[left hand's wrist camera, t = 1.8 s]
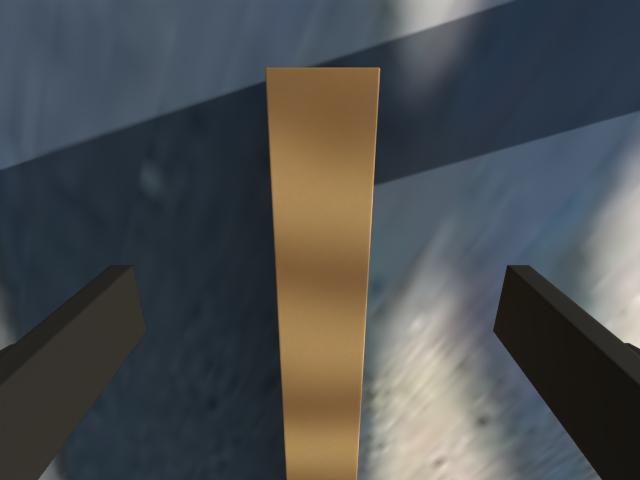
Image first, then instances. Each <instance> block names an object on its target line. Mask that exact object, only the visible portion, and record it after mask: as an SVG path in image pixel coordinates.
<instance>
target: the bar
mask: <svg viewBox="0 0 640 480" xmlns="http://www.w3.org/2000/svg"><path fill="white" fill-rule="evenodd" d="M265 76H266V95H267V114H268V133H269V153H270V172H271V191H272V210H273V230H274V249H275V268H276V287H277V307H278V326H279V345H280V364H281V384H282V403H283V422H284V441H285V460H286V480H357V463H358V446H359V428H360V411H361V393H362V376H363V359H364V341H365V324H366V306H367V289H368V271H369V254H370V236H371V219H372V202H373V184H374V167H375V149H376V132H377V114H378V97H379V79H380V68H379V67H267V68H265Z"/></svg>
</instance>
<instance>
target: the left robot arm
mask: <svg viewBox="0 0 640 480" xmlns="http://www.w3.org/2000/svg"><path fill="white" fill-rule="evenodd" d="M146 331H147V329H146V325H145V320H144V315H143V311H142V306H141V301H140V297H139V292H138V287H137V283H136V278H135V274H134V269H133V265H111V266H109V267H108V268H107V269H106V270H105V271H103V272H102V273H101V274H100V275H98V276H97V277H96V278H95V279H94V280H92V281H91V282H90V283H89V284H87V285H86V286H85V287H84V288H83V289H81V290H80V291H79V292H78V293H76V294H75V295H74V296H73V297H72V298H70V299H69V300H68V301H67V302H65V303H64V304H63V305H62V306H61V307H59V308H58V309H57V310H56V311H54V312H53V313H52V314H51V315H50V316H48V317H47V318H46V319H45V320H43V321H42V322H41V323H40V324H39V325H37V326H36V327H35V328H34V329H32V330H31V331H30V332H29V333H28V334H26V335H25V336H24V337H23V338H21V339H20V340H19V341H18V342H17V343H15V344H11V345H9V346H8V347H6V348H4V349H2V350H0V480H38V479H39V478H40V476H41V475H42V474H43V472H44V471H45V469H46V468H47V467H48V465H49V464H50V463H51V461H52V460H53V458H54V457H55V456H56V454H57V453H58V452H59V450H60V449H61V448H62V446H63V445H64V443H65V442H66V441H67V439H68V438H69V437H70V435H71V434H72V432H73V431H74V430H75V428H76V427H77V426H78V424H79V423H80V422H81V420H82V419H83V417H84V416H85V415H86V413H87V412H88V411H89V409H90V408H91V407H92V405H93V404H94V402H95V401H96V400H97V398H98V397H99V396H100V394H101V393H102V391H103V390H104V389H105V387H106V386H107V385H108V383H109V382H110V381H111V379H112V378H113V376H114V375H115V374H116V372H117V371H118V370H119V368H120V367H121V365H122V364H123V363H124V361H125V360H126V359H127V357H128V356H129V355H130V353H131V352H132V350H133V349H134V348H135V346H136V345H137V344H138V342H139V341H140V339H141V338H142V337H143V335H144V334H145V333H146ZM493 331H494V333H495V334H496V335H497V337H498V338H499V339H500V341H501V342H502V344H503V345H504V346H505V348H506V349H507V350H508V352H509V353H510V355H511V356H512V357H513V359H514V360H515V361H516V363H517V364H518V365H519V367H520V368H521V370H522V371H523V372H524V374H525V375H526V376H527V378H528V379H529V381H530V382H531V383H532V385H533V386H534V387H535V389H536V390H537V391H538V393H539V394H540V396H541V397H542V398H543V400H544V401H545V402H546V404H547V405H548V407H549V408H550V409H551V411H552V412H553V413H554V415H555V416H556V417H557V419H558V420H559V422H560V423H561V424H562V426H563V427H564V428H565V430H566V431H567V432H568V434H569V435H570V437H571V438H572V439H573V441H574V442H575V443H576V445H577V446H578V448H579V449H580V450H581V452H582V453H583V454H584V456H585V457H586V458H587V460H588V461H589V463H590V464H591V465H592V467H593V468H594V469H595V471H596V472H597V474H598V475H599V476H600V478H601V479H602V480H640V349H639V348H637V347H635V346H633V345H632V344H630V343H623V342H622V341H621V340H620V339H619V338H617V337H616V336H615V335H614V334H612V333H611V332H610V331H609V330H608V329H606V328H605V327H604V326H603V325H601V324H600V323H599V322H598V321H597V320H595V319H594V318H593V317H592V316H590V315H589V314H588V313H587V312H586V311H584V310H583V309H582V308H581V307H579V306H578V305H577V304H576V303H575V302H573V301H572V300H571V299H570V298H568V297H567V296H566V295H565V294H564V293H562V292H561V291H560V290H559V289H557V288H556V287H555V286H554V285H553V284H551V283H550V282H549V281H548V280H546V279H545V278H544V277H543V276H542V275H540V274H539V273H538V272H537V271H535V270H534V269H533V268H532V267H531V266H529V265H507V269H506V274H505V278H504V283H503V287H502V292H501V297H500V301H499V306H498V311H497V315H496V320H495V325H494V329H493Z"/></svg>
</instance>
